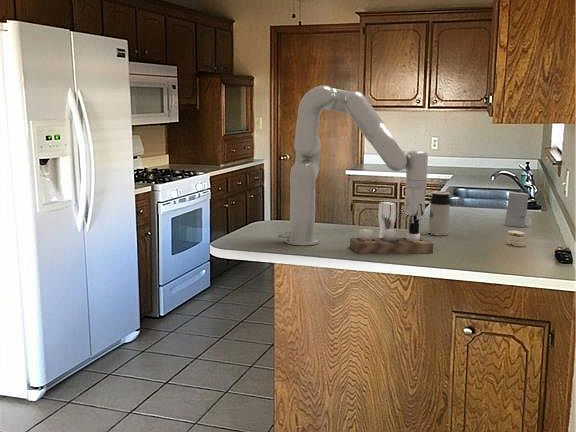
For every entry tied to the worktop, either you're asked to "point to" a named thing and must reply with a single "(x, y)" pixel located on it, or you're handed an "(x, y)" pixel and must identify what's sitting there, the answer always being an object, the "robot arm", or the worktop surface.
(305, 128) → the robot arm
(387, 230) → the button middle
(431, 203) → the travel mug
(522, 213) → the skincare box
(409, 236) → the button right
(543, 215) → the worktop surface
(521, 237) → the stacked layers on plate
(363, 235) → the button left
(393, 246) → the button board
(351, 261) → the worktop surface
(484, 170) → the worktop surface
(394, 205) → the beer glass
